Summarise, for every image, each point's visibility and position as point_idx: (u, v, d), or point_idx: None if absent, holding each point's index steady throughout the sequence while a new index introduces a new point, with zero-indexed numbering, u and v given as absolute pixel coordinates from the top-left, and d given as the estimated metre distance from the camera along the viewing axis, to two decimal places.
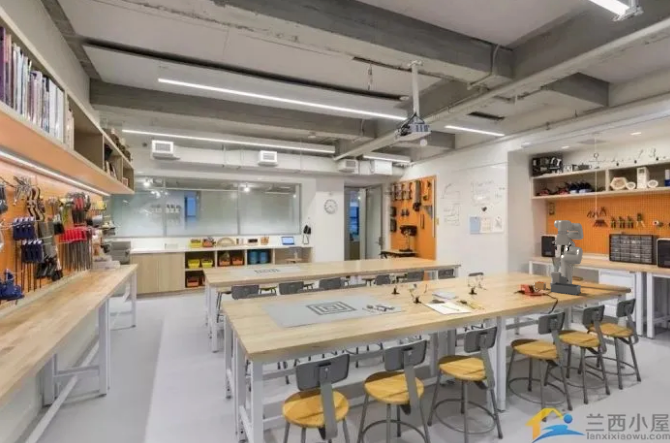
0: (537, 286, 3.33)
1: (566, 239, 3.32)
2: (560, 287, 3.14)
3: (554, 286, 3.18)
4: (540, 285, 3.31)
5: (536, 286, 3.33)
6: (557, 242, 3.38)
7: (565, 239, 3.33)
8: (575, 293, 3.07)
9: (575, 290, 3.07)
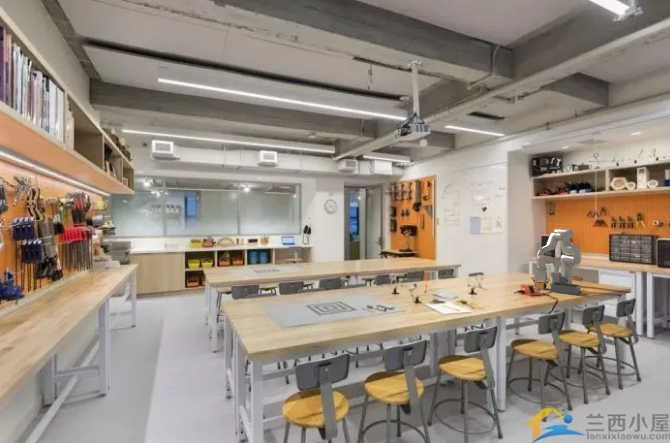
0: (537, 286, 3.33)
1: (544, 275, 3.31)
2: (560, 287, 3.14)
3: (554, 286, 3.18)
4: (540, 285, 3.31)
5: (536, 286, 3.33)
6: (535, 278, 3.36)
7: (543, 275, 3.31)
8: (575, 293, 3.07)
9: (575, 290, 3.07)
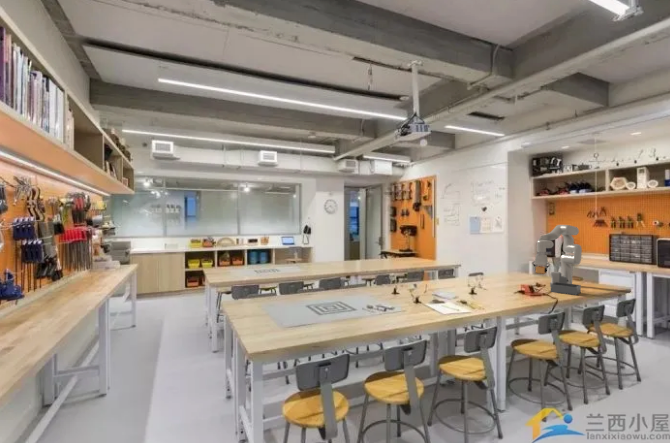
0: (537, 271, 3.33)
1: (545, 260, 3.31)
2: (560, 287, 3.14)
3: (554, 286, 3.18)
4: (541, 269, 3.31)
5: (537, 271, 3.33)
6: (536, 262, 3.36)
7: (544, 260, 3.31)
8: (575, 293, 3.07)
9: (575, 290, 3.07)
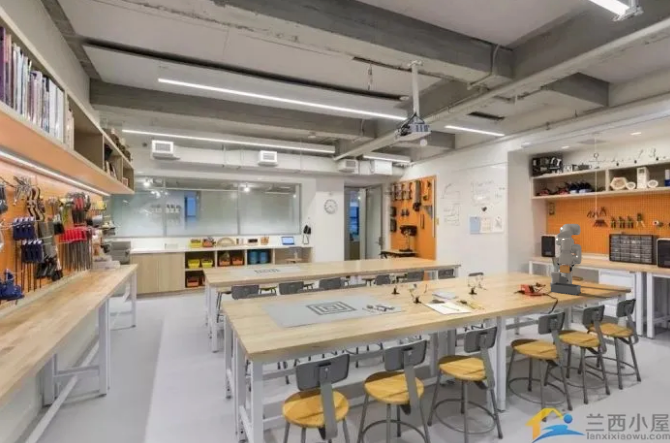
0: (562, 270, 3.17)
1: (570, 258, 3.15)
2: (560, 287, 3.14)
3: (554, 286, 3.18)
4: (565, 268, 3.15)
5: (561, 270, 3.17)
6: (560, 261, 3.20)
7: (569, 258, 3.15)
8: (575, 293, 3.07)
9: (575, 290, 3.07)
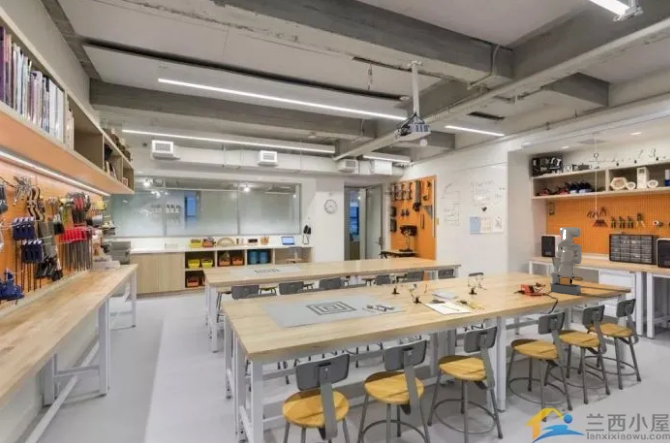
0: (562, 282, 3.16)
1: (570, 270, 3.15)
2: (560, 287, 3.14)
3: (554, 286, 3.18)
4: (566, 280, 3.15)
5: (561, 282, 3.17)
6: (561, 273, 3.20)
7: (569, 270, 3.15)
8: (575, 293, 3.07)
9: (575, 290, 3.07)
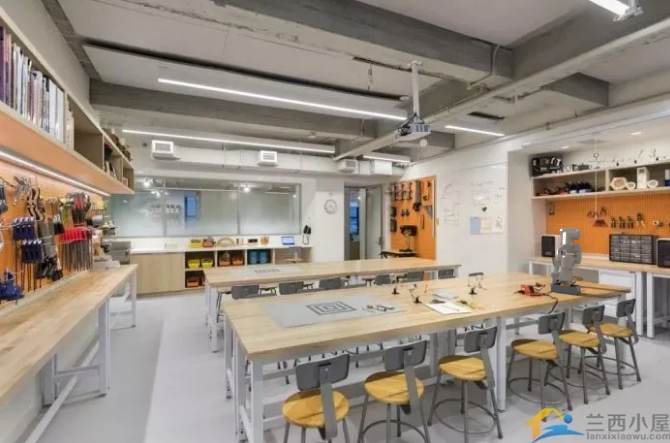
0: None
1: (570, 276, 3.15)
2: (560, 287, 3.14)
3: (554, 286, 3.18)
4: None
5: None
6: (560, 278, 3.20)
7: (569, 276, 3.15)
8: (575, 293, 3.07)
9: (575, 290, 3.07)
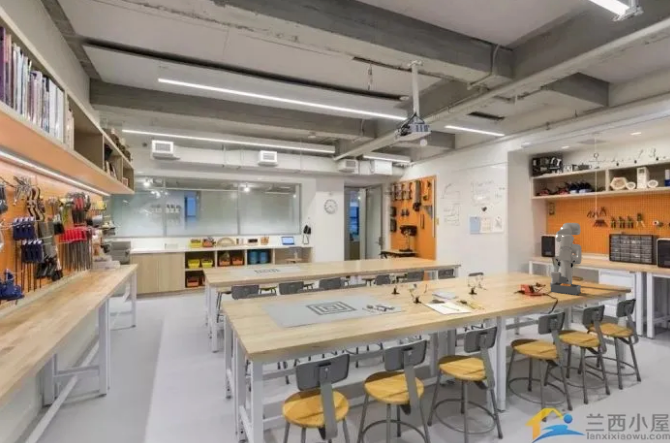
0: None
1: (570, 255, 3.17)
2: (560, 287, 3.14)
3: (554, 286, 3.18)
4: None
5: None
6: (560, 258, 3.23)
7: (568, 255, 3.18)
8: (575, 293, 3.07)
9: (575, 290, 3.07)
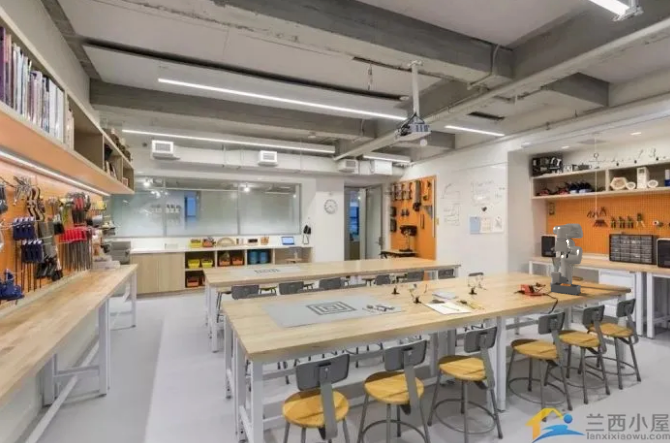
0: None
1: (565, 246, 3.29)
2: (560, 287, 3.14)
3: (554, 286, 3.18)
4: None
5: None
6: (556, 249, 3.35)
7: (564, 246, 3.30)
8: (575, 293, 3.07)
9: (575, 290, 3.07)
